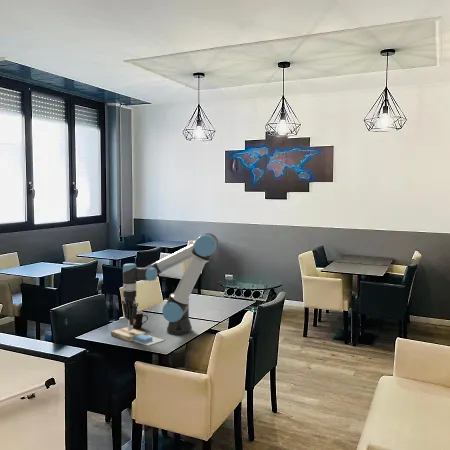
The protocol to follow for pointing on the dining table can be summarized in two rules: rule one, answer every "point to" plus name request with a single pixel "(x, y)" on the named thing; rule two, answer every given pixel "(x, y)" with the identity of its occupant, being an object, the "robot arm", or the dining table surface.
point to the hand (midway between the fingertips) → (130, 330)
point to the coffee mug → (138, 320)
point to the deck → (126, 333)
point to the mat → (154, 341)
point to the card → (143, 338)
